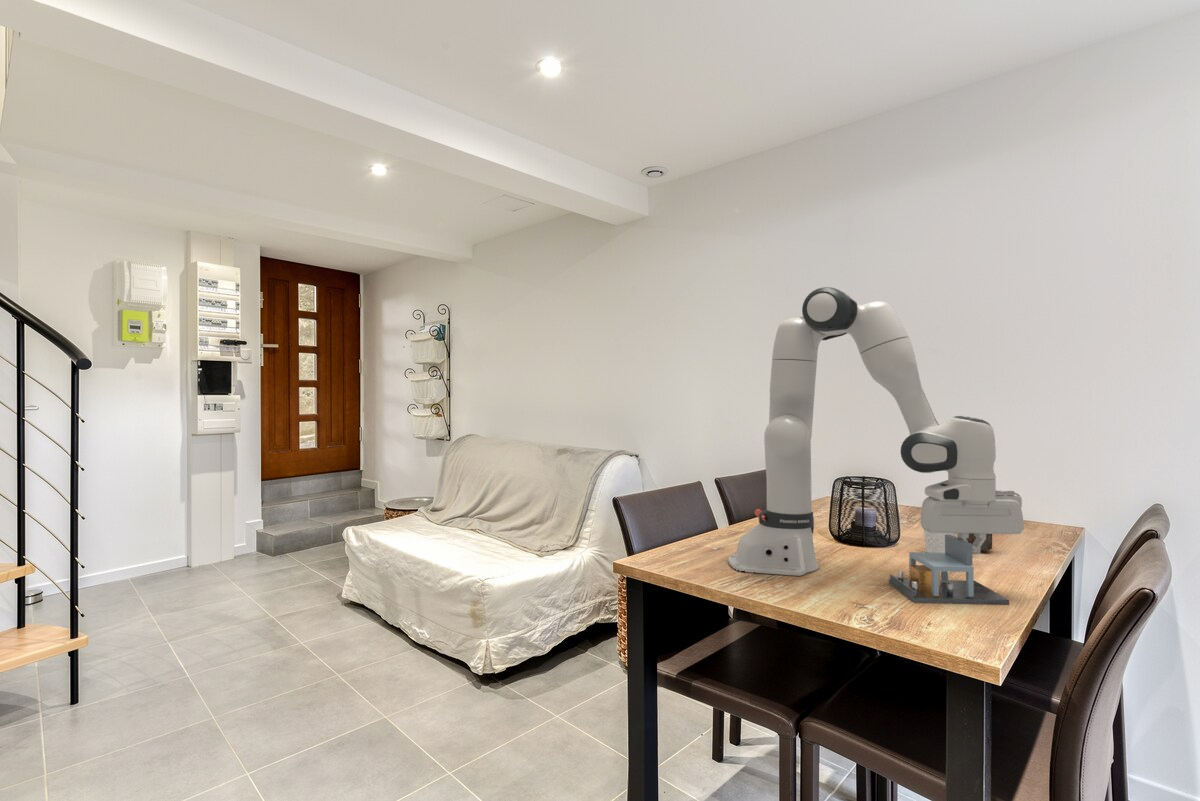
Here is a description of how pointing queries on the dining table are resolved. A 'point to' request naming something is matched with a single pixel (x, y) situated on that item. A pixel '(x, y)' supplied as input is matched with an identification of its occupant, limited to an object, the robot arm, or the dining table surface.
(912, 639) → the dining table surface
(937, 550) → the white cup
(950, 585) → the base plate
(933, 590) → the grey miniature chair
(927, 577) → the brown block
